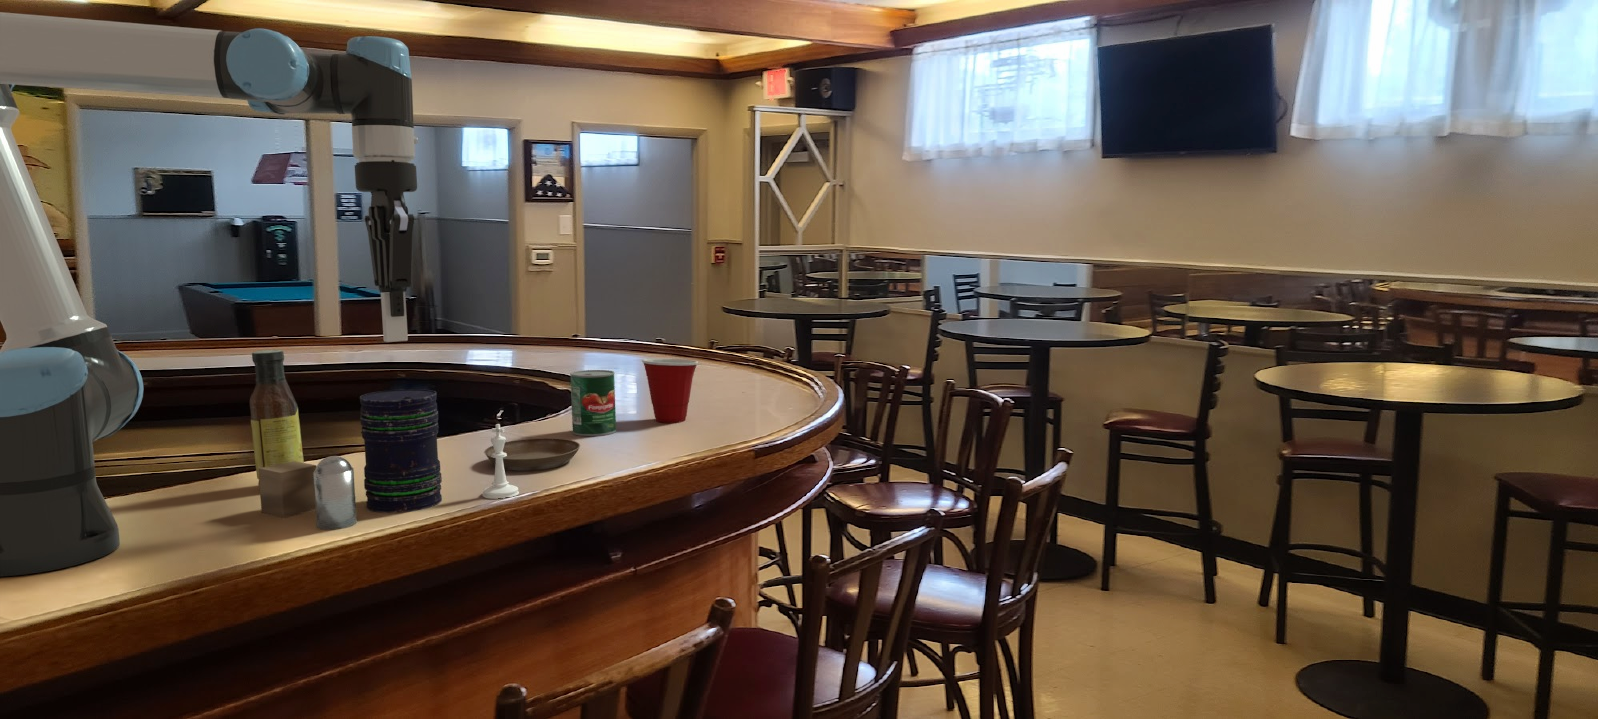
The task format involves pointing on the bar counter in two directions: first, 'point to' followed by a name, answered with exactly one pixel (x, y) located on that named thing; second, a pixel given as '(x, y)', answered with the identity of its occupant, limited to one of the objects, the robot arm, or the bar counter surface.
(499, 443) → the chess piece
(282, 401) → the sauce bottle
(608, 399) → the canned tomato
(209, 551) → the bar counter surface
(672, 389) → the plastic cup
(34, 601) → the bar counter surface
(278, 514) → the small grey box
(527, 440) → the saucer
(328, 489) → the metal shaker
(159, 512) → the bar counter surface
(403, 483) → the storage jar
